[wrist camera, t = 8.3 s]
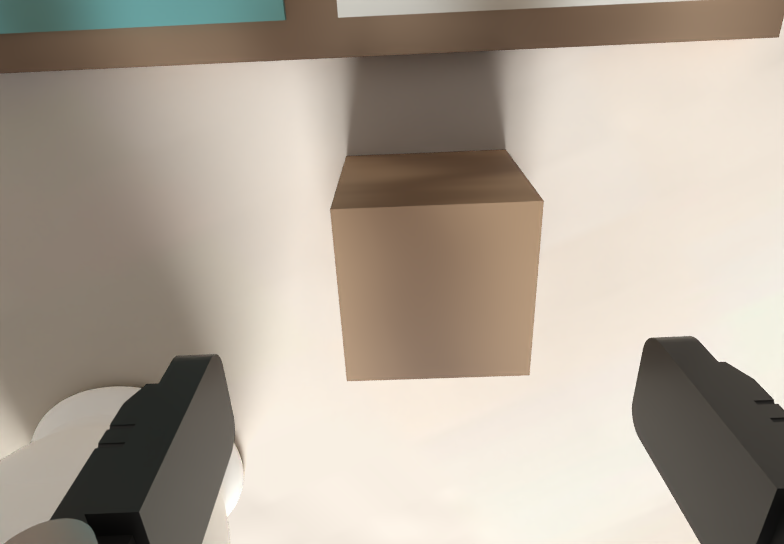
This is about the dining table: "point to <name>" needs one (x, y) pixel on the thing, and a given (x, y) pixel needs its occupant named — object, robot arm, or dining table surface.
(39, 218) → the dining table surface
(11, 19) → the board
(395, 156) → the walnut block
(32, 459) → the jar
